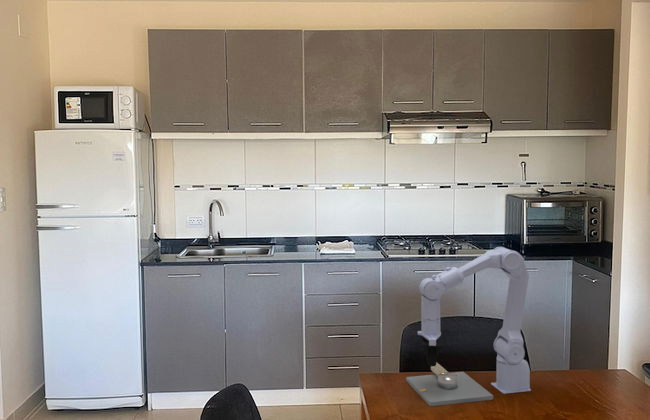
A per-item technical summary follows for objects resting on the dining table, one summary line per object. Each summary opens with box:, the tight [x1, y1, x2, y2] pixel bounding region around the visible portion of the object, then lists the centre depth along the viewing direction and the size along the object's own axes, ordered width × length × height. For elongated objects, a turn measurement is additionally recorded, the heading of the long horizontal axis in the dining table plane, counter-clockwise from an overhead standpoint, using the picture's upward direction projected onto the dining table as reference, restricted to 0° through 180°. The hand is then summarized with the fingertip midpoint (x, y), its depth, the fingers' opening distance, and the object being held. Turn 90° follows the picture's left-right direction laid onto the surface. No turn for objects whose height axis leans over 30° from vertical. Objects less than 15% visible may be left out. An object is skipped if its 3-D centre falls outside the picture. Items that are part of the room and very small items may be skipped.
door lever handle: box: [430, 362, 458, 389], centre depth 174 cm, size 14×6×4 cm, turn 12°
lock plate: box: [405, 371, 494, 407], centre depth 170 cm, size 20×20×2 cm
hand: (431, 361), depth 168 cm, fingers open, 7 cm apart
